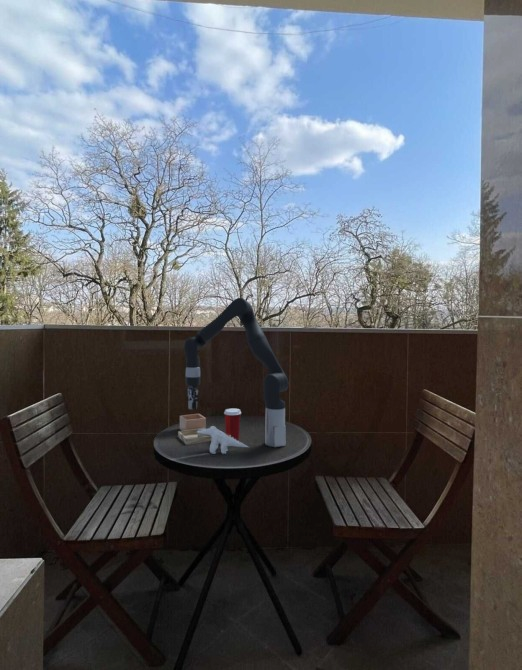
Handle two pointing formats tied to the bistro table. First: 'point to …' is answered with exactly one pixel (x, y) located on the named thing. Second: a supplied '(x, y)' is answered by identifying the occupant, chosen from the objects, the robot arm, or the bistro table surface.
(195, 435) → the tray
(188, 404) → the stone
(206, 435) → the stone
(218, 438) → the dinosaur statue
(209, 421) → the bistro table surface
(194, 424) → the bin
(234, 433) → the coffee cup
